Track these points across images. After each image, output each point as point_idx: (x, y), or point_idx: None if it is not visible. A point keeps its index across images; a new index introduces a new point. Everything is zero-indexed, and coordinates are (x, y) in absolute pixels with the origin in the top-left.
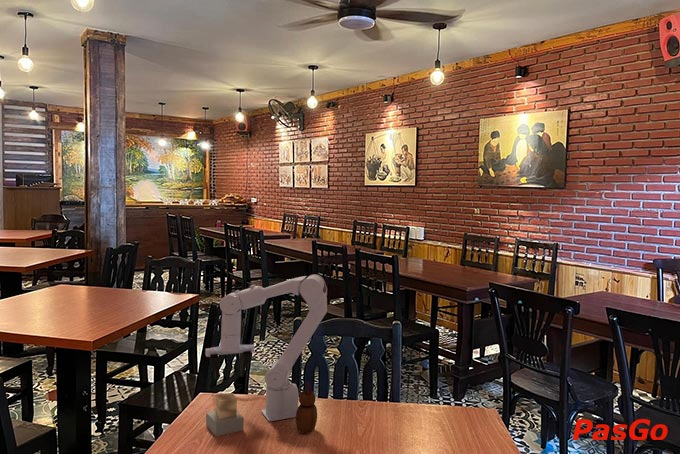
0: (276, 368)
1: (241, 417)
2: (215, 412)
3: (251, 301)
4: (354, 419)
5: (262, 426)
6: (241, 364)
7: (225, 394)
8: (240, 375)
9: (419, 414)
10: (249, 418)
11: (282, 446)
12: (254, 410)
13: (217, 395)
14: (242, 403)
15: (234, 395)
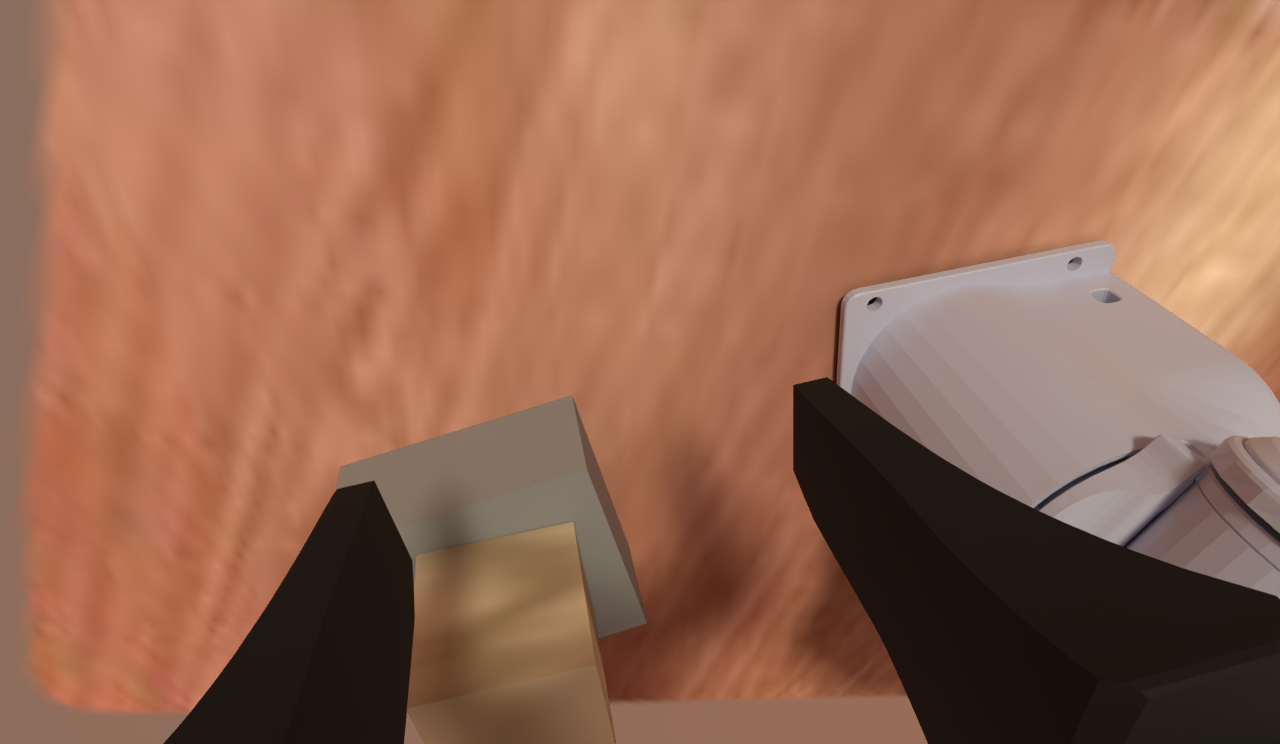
0: None
1: (630, 625)
2: (415, 556)
3: None
4: None
5: (765, 511)
6: (898, 572)
7: (513, 696)
8: (794, 425)
9: None
10: (710, 394)
11: (792, 685)
12: (795, 250)
13: (423, 714)
14: (726, 37)
15: (605, 709)
